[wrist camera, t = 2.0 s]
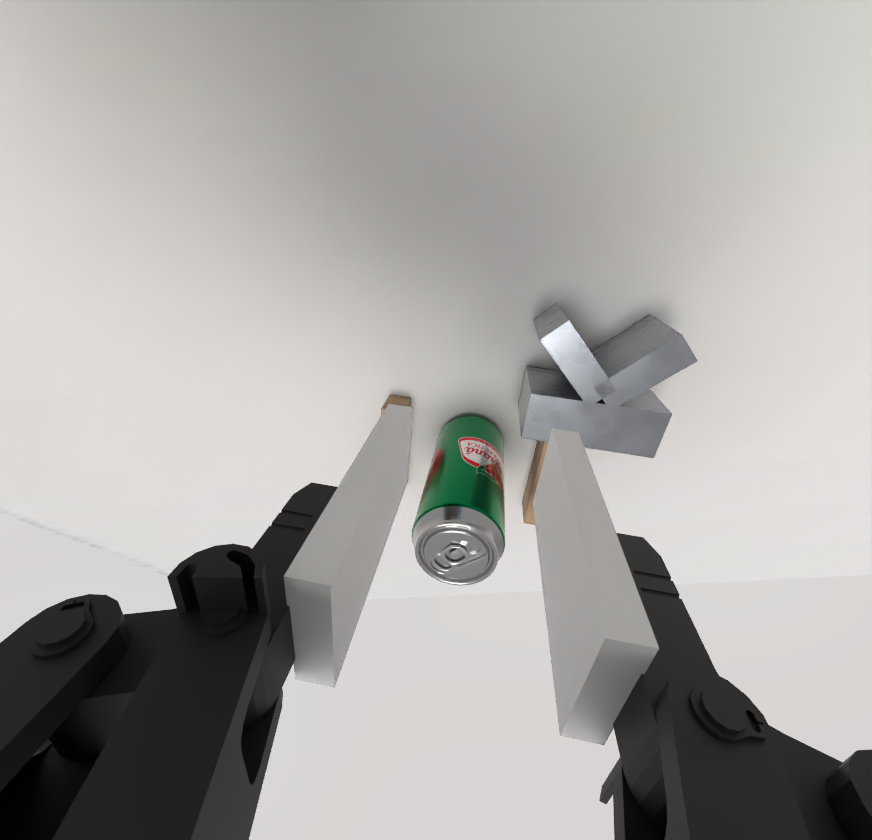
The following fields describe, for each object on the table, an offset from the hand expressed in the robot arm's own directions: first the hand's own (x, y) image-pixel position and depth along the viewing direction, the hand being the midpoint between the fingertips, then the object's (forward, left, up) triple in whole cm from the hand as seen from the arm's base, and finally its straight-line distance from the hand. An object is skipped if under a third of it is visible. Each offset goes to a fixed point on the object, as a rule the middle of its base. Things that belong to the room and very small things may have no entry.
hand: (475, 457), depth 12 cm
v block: (-1, +7, -17) cm, 18 cm away
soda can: (+9, 0, -17) cm, 19 cm away
